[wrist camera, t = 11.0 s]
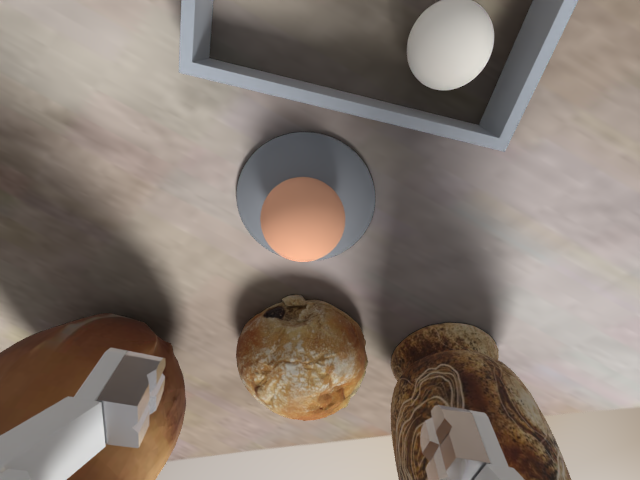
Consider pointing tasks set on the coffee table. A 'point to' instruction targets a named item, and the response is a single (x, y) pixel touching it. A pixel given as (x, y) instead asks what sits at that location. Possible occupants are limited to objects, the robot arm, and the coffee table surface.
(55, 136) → the coffee table surface
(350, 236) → the pad
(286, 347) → the bread roll
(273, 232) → the terracotta ball
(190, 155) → the coffee table surface
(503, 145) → the grey square frame
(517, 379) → the vase
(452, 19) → the cream ball
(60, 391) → the butternut squash
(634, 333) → the coffee table surface
